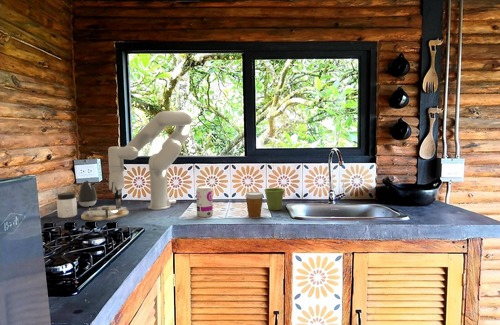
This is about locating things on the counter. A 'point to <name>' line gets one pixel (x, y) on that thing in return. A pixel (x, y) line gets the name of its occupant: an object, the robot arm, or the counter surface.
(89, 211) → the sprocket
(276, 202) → the plant pot
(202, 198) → the supplement can
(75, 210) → the jar
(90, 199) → the gray teardrop vessel
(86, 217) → the sprocket base
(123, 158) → the robot arm
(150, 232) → the counter surface
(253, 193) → the disposable coffee cup
